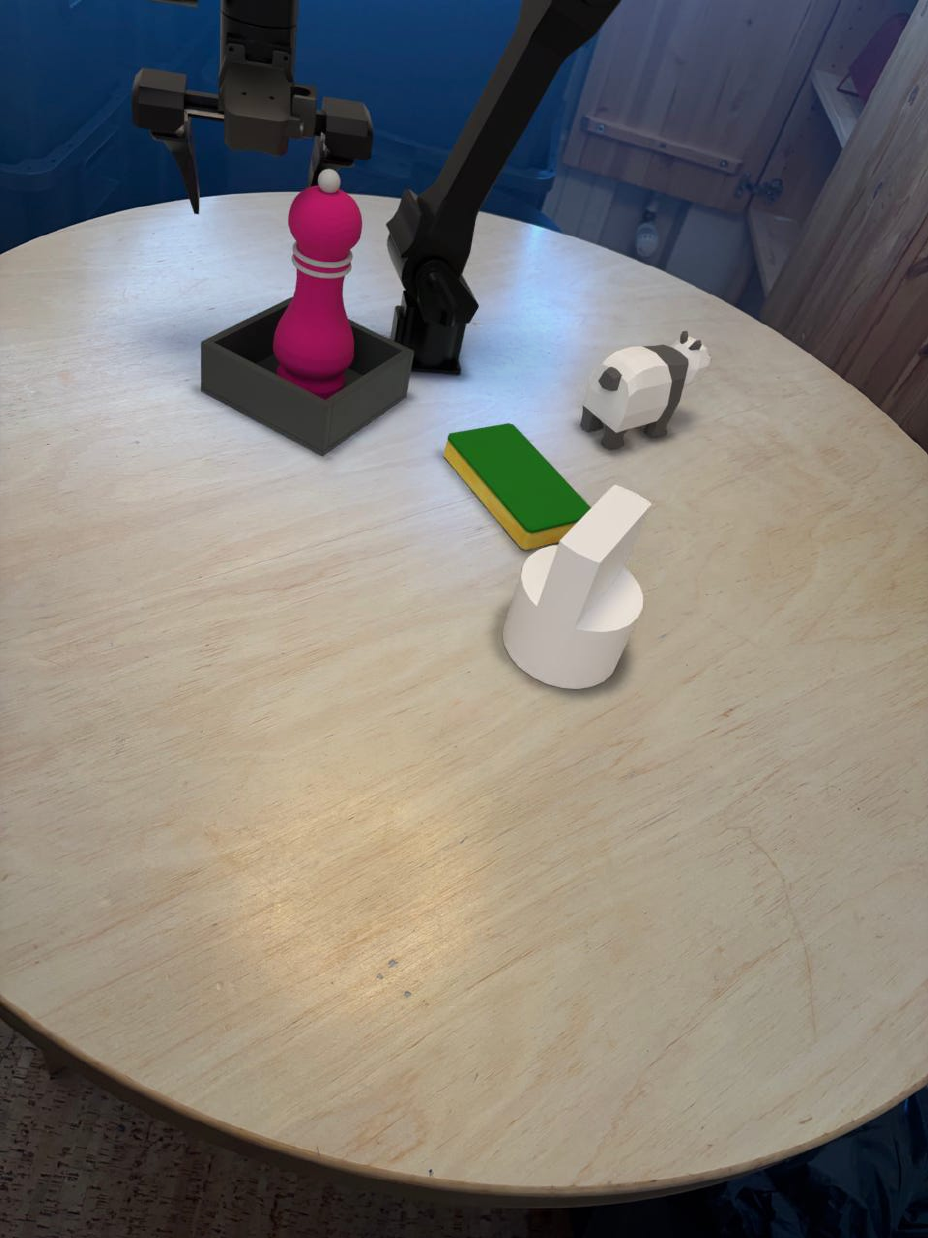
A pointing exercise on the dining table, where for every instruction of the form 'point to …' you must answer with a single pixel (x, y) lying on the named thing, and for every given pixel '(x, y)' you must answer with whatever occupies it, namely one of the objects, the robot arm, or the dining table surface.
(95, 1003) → the dining table surface
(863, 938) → the dining table surface
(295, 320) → the pepper mill
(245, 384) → the open rectangular box
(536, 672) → the base with upright slab
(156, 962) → the dining table surface
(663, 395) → the giant panda
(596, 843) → the dining table surface
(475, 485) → the dish sponge
